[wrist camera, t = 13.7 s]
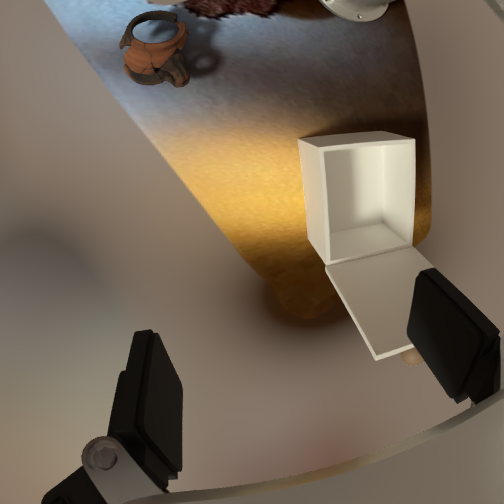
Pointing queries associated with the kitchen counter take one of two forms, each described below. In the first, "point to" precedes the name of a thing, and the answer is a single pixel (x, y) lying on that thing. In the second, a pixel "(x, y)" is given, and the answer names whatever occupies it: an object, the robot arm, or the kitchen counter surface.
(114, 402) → the robot arm
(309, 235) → the carton
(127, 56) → the broken clay pot
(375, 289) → the carton lid
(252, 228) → the kitchen counter surface
